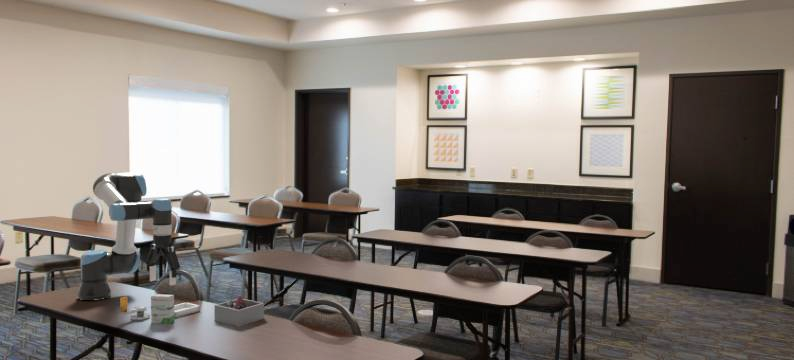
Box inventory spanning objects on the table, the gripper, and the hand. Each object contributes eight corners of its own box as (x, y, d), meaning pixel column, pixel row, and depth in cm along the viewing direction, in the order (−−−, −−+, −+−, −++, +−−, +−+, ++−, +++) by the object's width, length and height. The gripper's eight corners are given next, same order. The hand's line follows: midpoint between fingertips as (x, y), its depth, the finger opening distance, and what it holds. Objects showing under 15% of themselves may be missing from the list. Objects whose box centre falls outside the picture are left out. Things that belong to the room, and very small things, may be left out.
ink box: (175, 320, 270) (174, 294, 270) (169, 324, 266) (169, 297, 265) (156, 319, 271) (155, 293, 271) (150, 323, 266) (150, 296, 266)
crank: (141, 308, 277) (141, 291, 277) (148, 310, 274) (148, 293, 274) (117, 314, 267) (117, 297, 267) (124, 316, 264) (124, 298, 264)
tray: (160, 314, 280) (160, 308, 280) (186, 307, 292) (186, 302, 292) (174, 317, 275) (174, 312, 275) (200, 310, 287) (200, 305, 286)
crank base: (126, 318, 273) (126, 311, 272) (142, 314, 279) (142, 307, 279) (137, 321, 268) (137, 314, 268) (153, 317, 275) (153, 310, 275)
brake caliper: (247, 318, 267) (232, 296, 268) (229, 332, 269) (214, 309, 271) (259, 312, 278) (244, 290, 279) (241, 324, 280) (227, 303, 282)
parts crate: (214, 320, 272) (214, 305, 271) (240, 312, 284) (240, 298, 284) (238, 326, 264) (238, 310, 263) (263, 318, 276) (263, 303, 276)
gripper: (137, 232, 270) (137, 280, 271) (173, 238, 256) (174, 288, 257) (152, 230, 276) (152, 277, 277) (188, 235, 262) (188, 285, 264)
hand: (162, 282), depth 267 cm, fingers open, 13 cm apart
